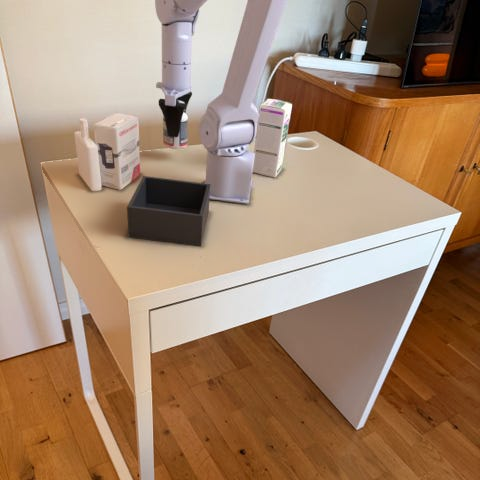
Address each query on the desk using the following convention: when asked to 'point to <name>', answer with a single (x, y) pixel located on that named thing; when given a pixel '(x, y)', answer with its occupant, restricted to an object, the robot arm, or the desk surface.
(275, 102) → the syrup box
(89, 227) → the desk surface
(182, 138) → the pill bottle
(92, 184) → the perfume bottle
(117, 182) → the ink box
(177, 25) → the robot arm
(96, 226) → the desk surface
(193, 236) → the dark grey open box
